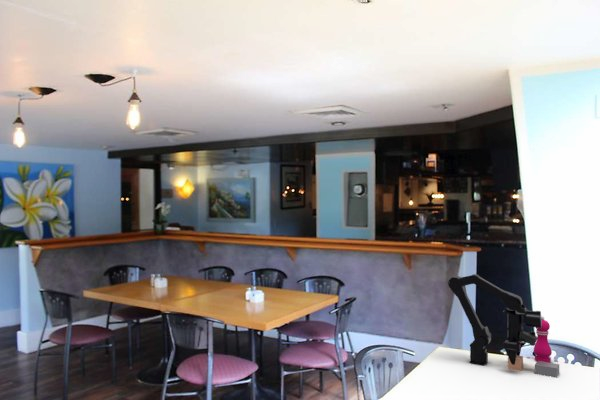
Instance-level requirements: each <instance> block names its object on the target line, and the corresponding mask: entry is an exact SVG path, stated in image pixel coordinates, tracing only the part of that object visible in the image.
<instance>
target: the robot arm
mask: <svg viewBox="0 0 600 400" xmlns="http://www.w3.org/2000/svg"><path fill="white" fill-rule="evenodd" d="M473 284H474V285H476V286H477V287H478V288H481V289H482V290H484V291H485V292H487V293H489V294H491V295H492V296H494V297H496V298H497V299H499V300H500V302H502V303H503V305H505V306H506V308H505V310H503V311H502V314H504V315H507V327H506V331H507V337H506V340H505V341H504V342H502V348H503V349H504V351H505V353H506V355H507V358H508V357H509V359H510V361H511V364H512V365H515V360H516V355H517V356H521V351H522V347H523V346H525V345H526V343H527V344H529V345H530V346H531V347H534V346H535V344H536V342H537V334H536V331H533V330H531V331H530V332H529V331H528V332H527V331H525V328H524V327H523V324H524V325H525V326H526V327H528V328H529V327H530V328H535V327H537V328H542V318H541V316H542V311H540V310H528V308H527V307H526V306H525V305H524V304H523V299H522V296H519V295H518V294H515V293H512V292H510V291H507V290H504V289H502V288H500V287H498V286H496V285H495V284H493V283H491V282H489V281H488V280H486V279H484V278H483V277H481V276H480V275H479V274H477V273H475V274H472V275H468V276H462V277H461V276H459V275H457V276H456V275H455V276H453V277H450V279H449V280H448V282H447V285H448V287H449V289H450V290H451V292H452V293H453V294H454V295H455V296H456V297H457V298H458V301H459V303H460V305H461V307H462V309H463V312H464V313H465V316H466V318H467V320H468V322H469V323H470V326H471V329H472V335H473V341H472V342H471V343H470V344H469V348H470V349H469V351H470V355H469V356H470V359H469V364H475V365H480V366H485V365H486V364H487V363H489V356H488V355H489V352H487V350H488V349H487V348H486V347H487V346H488V345H489V344H490V342H491V341H492V333H491V332H490V330H489V327H488V326H484V325H483V324H482V323H481V320H480V319H479V317H478V315H477V312H476V310H475V308H474V306H473V304H472V302H471V299H470V297H469V296H468V293H467V288H466V286H469V285H473Z"/></svg>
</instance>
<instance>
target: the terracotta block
mask: <svg viewBox="0 0 600 400" xmlns="http://www.w3.org/2000/svg"><path fill="white" fill-rule="evenodd" d="M507 364H508V365H507V369H508V370H514V371H518V370H519V372H521V371H523V368H524V357H523V355H520V356H517V355H516V360H515V365H512V364H511V361H510V359H509V357H508V356H507Z"/></svg>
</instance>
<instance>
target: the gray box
mask: <svg viewBox="0 0 600 400" xmlns="http://www.w3.org/2000/svg"><path fill="white" fill-rule="evenodd" d="M534 374H535V375H538V374H539V376H544V375H545V377H550V376H551V378H555V377H556V378H555V379H557V378H558V377H559V375H560V364H559V363H554V362H553V363H552V362H550V363H548V362H542V361H535V364H534ZM557 376H558V377H557Z"/></svg>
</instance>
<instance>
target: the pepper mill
mask: <svg viewBox="0 0 600 400" xmlns="http://www.w3.org/2000/svg"><path fill="white" fill-rule="evenodd" d="M541 318H542V328H537V327H534V328H535V329H536V330H535V334H536V336H537V341H536V343H535V345H534V346H533V353H534V354H535V356H534V361H535V360H536V361H535V362H537V361H542V362H548V363H552V360H551V357H550V356H552V353H553V352H552V351H553V350H552V349H551V348H552V347H551V346H550V344H549V341H548V336H549V330H550V327H551V325H550V323H549V321H548V320H545V317H544V316H543V315H541Z"/></svg>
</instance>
